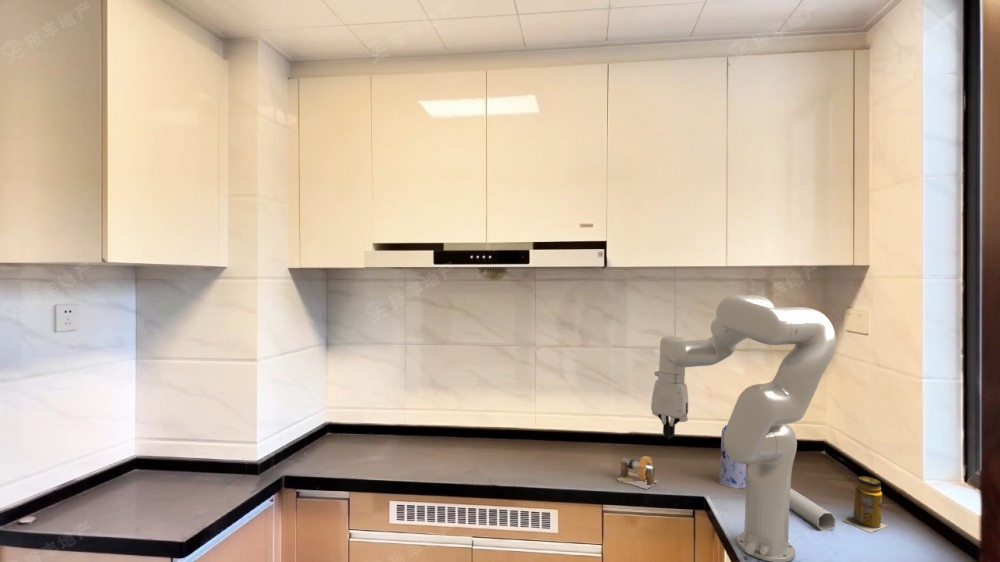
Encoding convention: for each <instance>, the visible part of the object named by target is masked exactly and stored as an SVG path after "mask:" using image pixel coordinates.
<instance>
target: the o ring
mask: <svg viewBox="0 0 1000 562" xmlns="http://www.w3.org/2000/svg"><path fill="white" fill-rule="evenodd" d="M638 462H639V465H638V470H637V475H638V476H639V478H640V479H642V480H645V481H646V480H647V473H646V472H645V468H646V465H651V466H653V463H654V462H653V460H652V458H651V457H650V456H646V455H643V456H642V457H640V460H639V461H638Z"/></svg>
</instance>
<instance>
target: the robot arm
mask: <svg viewBox="0 0 1000 562" xmlns="http://www.w3.org/2000/svg"><path fill="white" fill-rule="evenodd" d="M710 332H711V335H712V336H711V337H710V338H708V339H699V340H698V339H697V340H694V339H693V340H686V339H684V338H682V337H679V336H663V337H661V340H660V341H659V342H660V343H659V360H658V366H659V367H658V371H656V370H655V371H654V376H656V377H657V379H656V380H655V381H654V386H653V389H652V390H653V391H652V397H651V403H650V404H651V406H650V409H651V413H652V415H654V416H655V417H658V418H659V420H660V421H661V423H662V425H663V426H662V427H663V428H662V433H663V438H665V439H668V440H670V439H672V438H673V437H674V436H675V433H676V432H675V430H676V429H675V428H676V425H677V424H678V423H686V422H687V421H688V420H689V419H688V413H689V393H688V385H687V383H686V382H685V379H686V378H685V375H686V368H695V367H706V366H707V367H709V366H713V365H716V364H718V363H720V362H722V361H724V360H725V359H727V358H729V357H730V356H732V355H733V354H734V352H735V350H736V349H737V345H739V344H740V343H742V342H743V341H744V340H746V339H750V340H752V341H756V342H758V343H760V344H763V345H764V344H765V345H767V346H785V345H794V346H793V348H792V349H791V350H790V351H789V352H788V353H787V354H786V355H785V356H784V358H783V359H782V360H781V362H780V364H779V367H778V369H777V372H776V374H775V376H774V377H773V378H772V380H771V381H769V382H767V383H766V382H765V383H757V384H751V385H750V386H748V387H747V388H745V389H744V390H743V391H742V392H741V393H740V394H739V396H738V397H737V400H736V402H735V405H734V406H733V409H732V412H731V415H730V417H729V420H728V422H727V427H726V430H725V433H724V448H725V451H726V453H727V454H728V456H729V457H730V458H731V459H732V460H733V461H735V462H737V463H740V464H746V465H748V467H747V469H746V487H745V504H744V505H745V509H744V529H743V530H744V531H743V532H741V533H739V534H738V535H737V536H736V537H737V538H736V543H737V546H738V547H739V548H740V549H741V550H742V551H743V552H744V553H746V554H749V555H750V556H752V557H754V558H756V559H760V560H762V561H767V562H791V561H792V560H794V558H795V557H796V549H795V547H794V546H793V545H792V544H791V542H789V531H790V530H789V527H790V523H789V522H790V508H789V507H790V488H792V487H791V485H792V484H791V483H792V472H793V465H794V461H795V458H796V457H795V456H796V454H797V447H798V440H797V436H796V433H795V432H794V430H793V428H792V427H791V426H790V425H789V424H795V423H797V422H798V421H800V420H802V419H803V417H804V416H805V415H806V413H807V410H808V408H809V406H810V404H811V402H812V400H813V397H814V396H815V393H816V391H817V389H818V386H819V384H820V382H821V379H822V378H823V375H824V374H825V372H826V370H827V368H828V366H829V364H830V363H831V361H832V359H833V356H834V354H835V349H836V346H837V345H836V344H837V337H836V331H835V328H834V326H833V323H832V322H831V321H830V320H829V318H828V317H827V316H826V314H824V313H823V312H821V311H819V310H817V309H814V308H810V307H803V306H791V307H790V306H789V307H788V306H786V307H781V306H780V307H776V306H775V305H774V303H773V302H772V301H771V300H770V299H768V298H767V297H764V296H762V295H755V294H752V295H751V294H750V295H747V294H746V295H745V294H743V295H742V294H738V295H737V294H734V295H729V296H727V297H725V298H723V299H722V300H721V301H720V302H719V304H718V305H717V307H716V310H715V318H714V319H713V320H712V321H711V324H710Z"/></svg>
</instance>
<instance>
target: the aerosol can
mask: <svg viewBox="0 0 1000 562" xmlns="http://www.w3.org/2000/svg"><path fill="white" fill-rule="evenodd" d="M726 427H727V425H725V426H724V427H723V428H722V429H721V437H720V438H721V441H720V442H721V443H720V464H719V465H720V468H719V480H718V482H719V484H721V483H722V484H723V486H724V485H726V486H725V487H727V486H729V487H728V488H731V487H734V488H733V489H739V488H740V489H745V488H746V481H747V464H740V463H737V462H735V461H733V460H732V459H731V458H730V457H729V456H728V454H727V453H726V451H725V448H724V433H725V430H726ZM722 484H721V485H722ZM744 487H745V488H744Z"/></svg>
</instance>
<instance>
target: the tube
mask: <svg viewBox="0 0 1000 562" xmlns="http://www.w3.org/2000/svg"><path fill="white" fill-rule="evenodd" d="M791 509H792V512H794V513H796V514H797V515H798V514H799V515H798V516H800V517H801V518H803V519H804V520H805V521H806V522H808V523H810V524H812V525H813V526H814V527H816V528H817V529H818V530H819V531H821V532H830V531H832V530H833V529H834V528H836V517H835V515H834V514H833V513H832V512H831V511H828V510H827V509H825V508H823V507H822V506H820V505H818V504H817V503H815V502H813V501H812V500H811V499H809V498H807V497H806V496H805V495H802V494H800V493H799V492H798V491H797V490H794V489H792V487H790V507H789V510H791Z"/></svg>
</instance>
